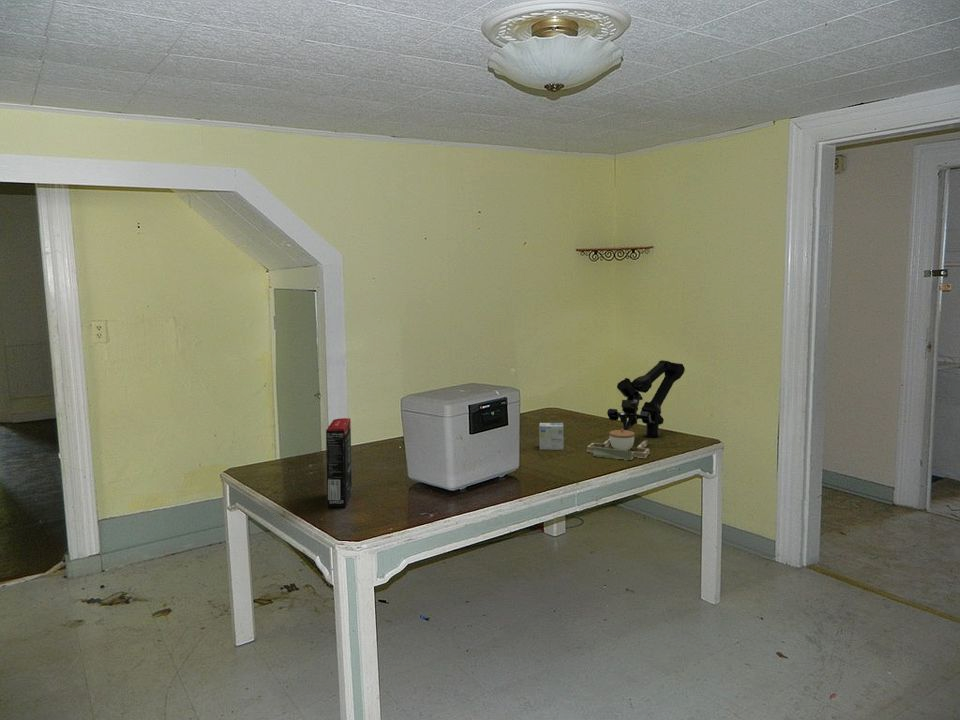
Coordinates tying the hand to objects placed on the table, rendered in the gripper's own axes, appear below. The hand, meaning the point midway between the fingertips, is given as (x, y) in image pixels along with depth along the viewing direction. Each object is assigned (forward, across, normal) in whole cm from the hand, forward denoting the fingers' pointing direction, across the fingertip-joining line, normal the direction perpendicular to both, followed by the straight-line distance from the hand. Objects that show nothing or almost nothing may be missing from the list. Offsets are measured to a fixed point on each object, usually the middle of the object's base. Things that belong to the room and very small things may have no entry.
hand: (625, 431), depth 311 cm
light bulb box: (+16, -29, -5) cm, 33 cm away
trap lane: (+10, 0, 0) cm, 10 cm away
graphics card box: (+84, -69, -73) cm, 131 cm away
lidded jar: (+9, 0, +1) cm, 9 cm away
